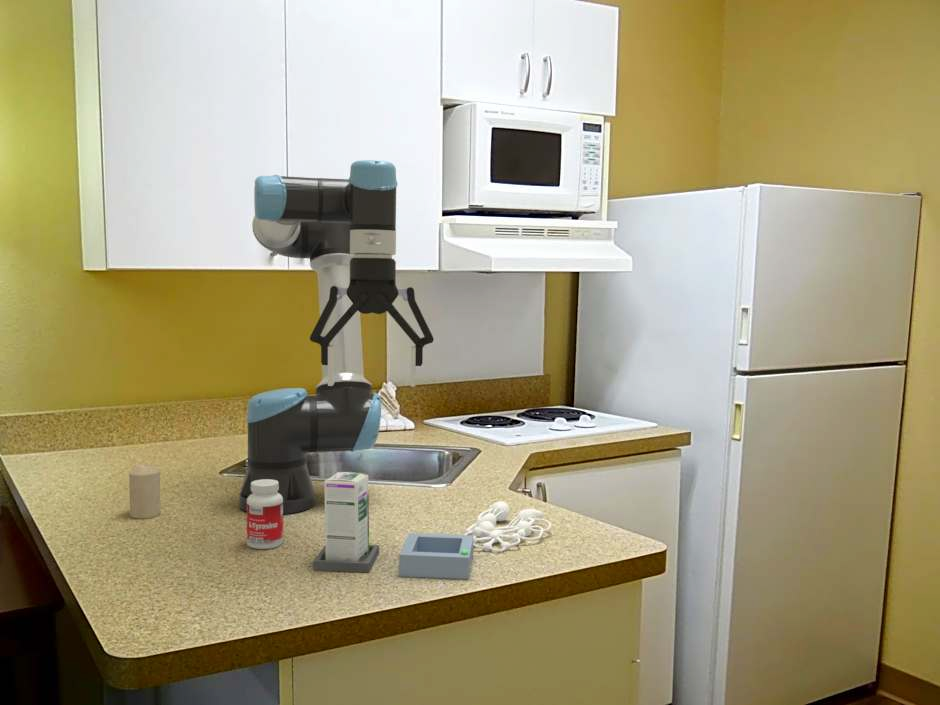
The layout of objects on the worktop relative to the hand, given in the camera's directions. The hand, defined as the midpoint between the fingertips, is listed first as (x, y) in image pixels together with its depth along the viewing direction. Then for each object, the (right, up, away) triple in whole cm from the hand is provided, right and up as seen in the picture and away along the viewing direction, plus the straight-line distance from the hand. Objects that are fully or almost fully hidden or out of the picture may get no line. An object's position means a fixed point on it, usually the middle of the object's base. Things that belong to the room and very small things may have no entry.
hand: (372, 385), depth 140 cm
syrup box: (-4, -29, -1) cm, 30 cm away
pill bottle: (-19, -28, +7) cm, 35 cm away
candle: (-46, -26, +22) cm, 58 cm away
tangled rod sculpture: (+23, -29, +14) cm, 39 cm away
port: (+11, -29, -2) cm, 31 cm away
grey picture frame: (-4, -29, -1) cm, 29 cm away
